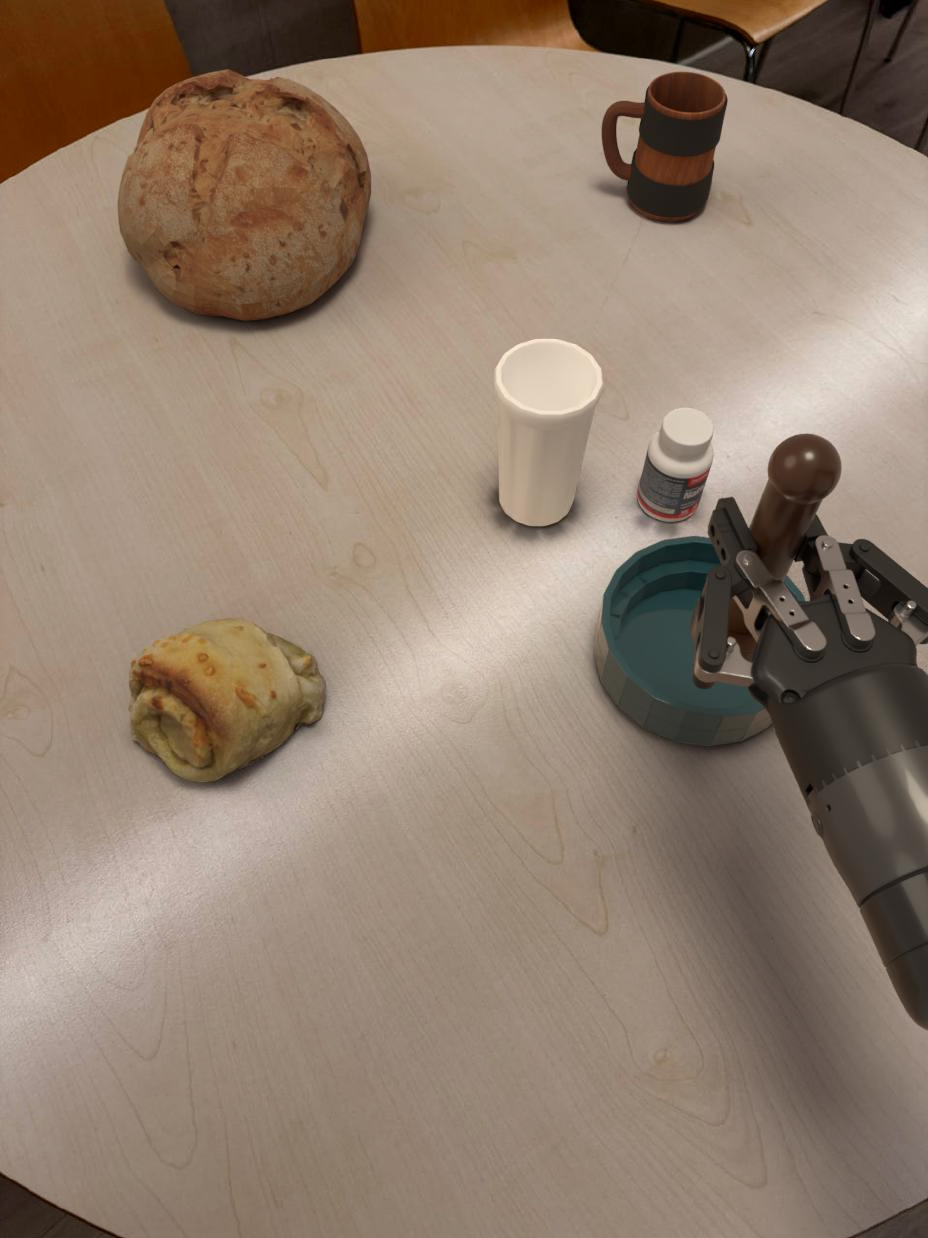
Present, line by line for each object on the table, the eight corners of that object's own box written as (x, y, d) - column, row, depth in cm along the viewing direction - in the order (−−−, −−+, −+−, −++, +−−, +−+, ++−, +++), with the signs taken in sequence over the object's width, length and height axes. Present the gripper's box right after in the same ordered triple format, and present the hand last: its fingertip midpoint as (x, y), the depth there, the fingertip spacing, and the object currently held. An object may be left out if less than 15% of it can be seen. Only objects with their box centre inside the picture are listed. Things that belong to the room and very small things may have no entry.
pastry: (109, 776, 73) (74, 726, 66) (161, 628, 79) (134, 569, 73) (304, 802, 72) (288, 754, 65) (340, 650, 78) (329, 592, 72)
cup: (524, 553, 84) (536, 433, 71) (469, 488, 87) (471, 363, 75) (602, 511, 86) (627, 387, 74) (546, 449, 90) (560, 322, 77)
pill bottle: (682, 533, 85) (704, 462, 77) (625, 506, 86) (642, 434, 79) (708, 491, 87) (733, 418, 80) (653, 466, 89) (672, 392, 81)
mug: (596, 167, 111) (610, 60, 101) (707, 178, 110) (732, 71, 100) (589, 217, 107) (603, 110, 97) (705, 229, 106) (731, 122, 96)
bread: (336, 346, 96) (319, 206, 83) (98, 317, 98) (45, 176, 85) (391, 175, 110) (384, 33, 97) (181, 152, 112) (147, 10, 99)
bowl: (717, 551, 84) (732, 509, 79) (834, 697, 77) (858, 660, 72) (556, 622, 80) (563, 583, 75) (664, 784, 73) (679, 751, 68)
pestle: (742, 584, 64) (824, 391, 50) (793, 648, 62) (894, 464, 48) (673, 616, 63) (736, 427, 49) (722, 683, 60) (804, 503, 46)
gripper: (1068, 720, 45) (892, 433, 54) (769, 787, 43) (639, 478, 52) (992, 788, 51) (846, 521, 60) (729, 849, 49) (619, 564, 58)
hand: (750, 502), depth 56 cm, fingers closed on pestle, 3 cm apart
